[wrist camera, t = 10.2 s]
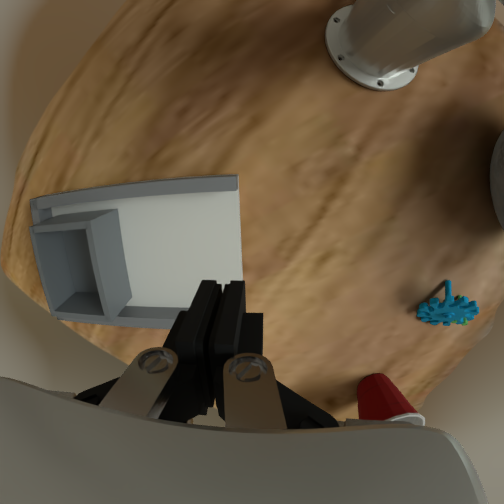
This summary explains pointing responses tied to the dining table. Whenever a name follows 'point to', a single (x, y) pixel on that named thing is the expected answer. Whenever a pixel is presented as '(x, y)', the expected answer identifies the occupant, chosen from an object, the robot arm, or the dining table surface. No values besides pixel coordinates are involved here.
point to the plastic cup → (384, 401)
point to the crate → (82, 264)
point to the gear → (448, 309)
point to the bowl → (498, 178)
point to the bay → (164, 239)
